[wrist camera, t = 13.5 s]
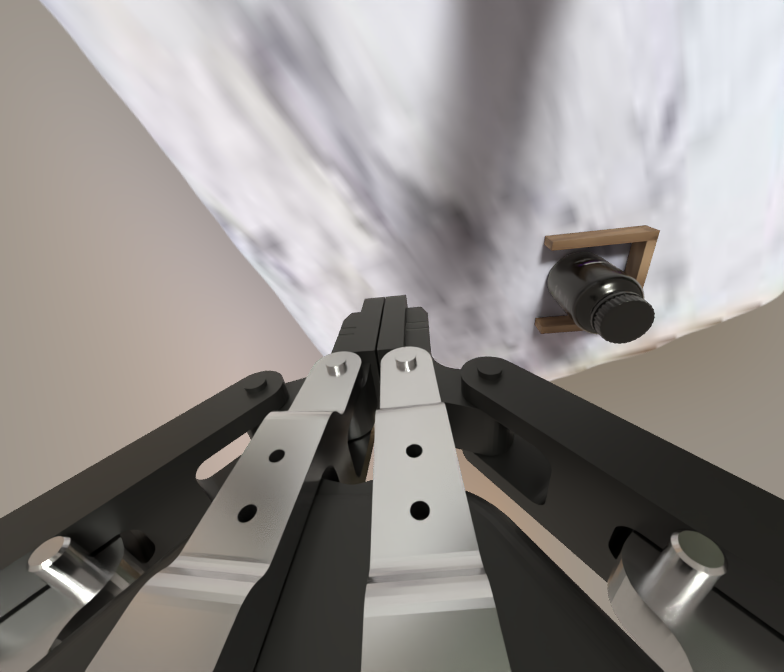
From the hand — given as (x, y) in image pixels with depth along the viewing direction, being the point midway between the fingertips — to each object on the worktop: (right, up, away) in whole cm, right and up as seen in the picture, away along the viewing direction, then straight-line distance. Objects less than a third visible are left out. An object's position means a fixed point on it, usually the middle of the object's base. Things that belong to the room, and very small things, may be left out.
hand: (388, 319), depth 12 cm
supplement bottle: (+23, +7, +29) cm, 37 cm away
